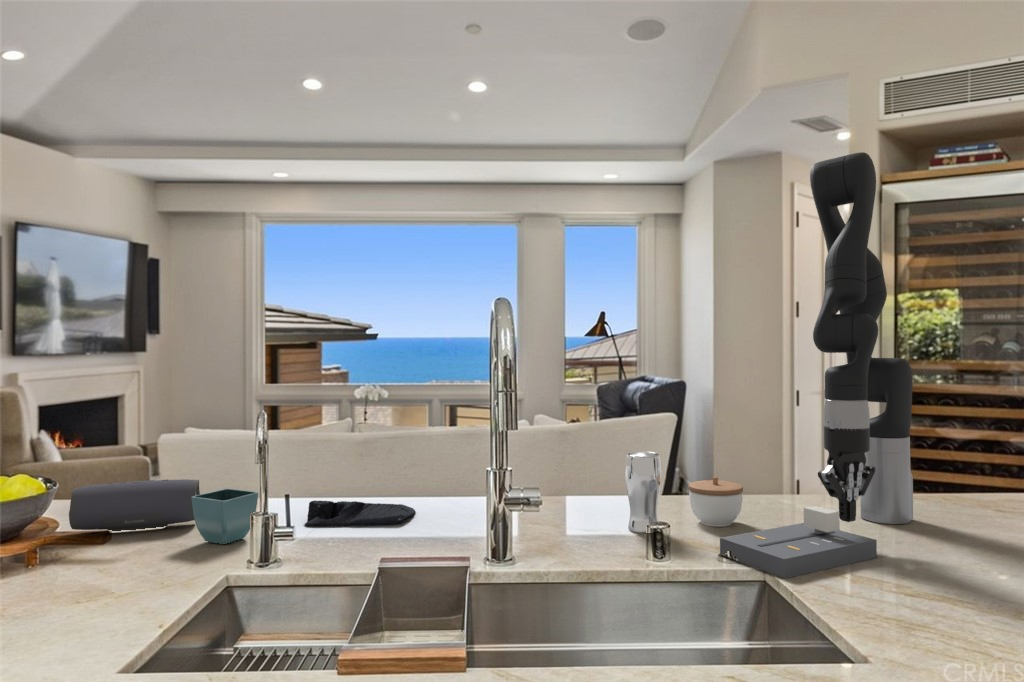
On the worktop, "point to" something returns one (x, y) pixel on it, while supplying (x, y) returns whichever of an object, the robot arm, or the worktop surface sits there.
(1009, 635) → the worktop surface
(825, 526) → the fader knob
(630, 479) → the beer glass
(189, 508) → the bluetooth speaker
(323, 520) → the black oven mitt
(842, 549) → the panel
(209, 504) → the flower pot
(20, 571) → the worktop surface
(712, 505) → the lidded jar
